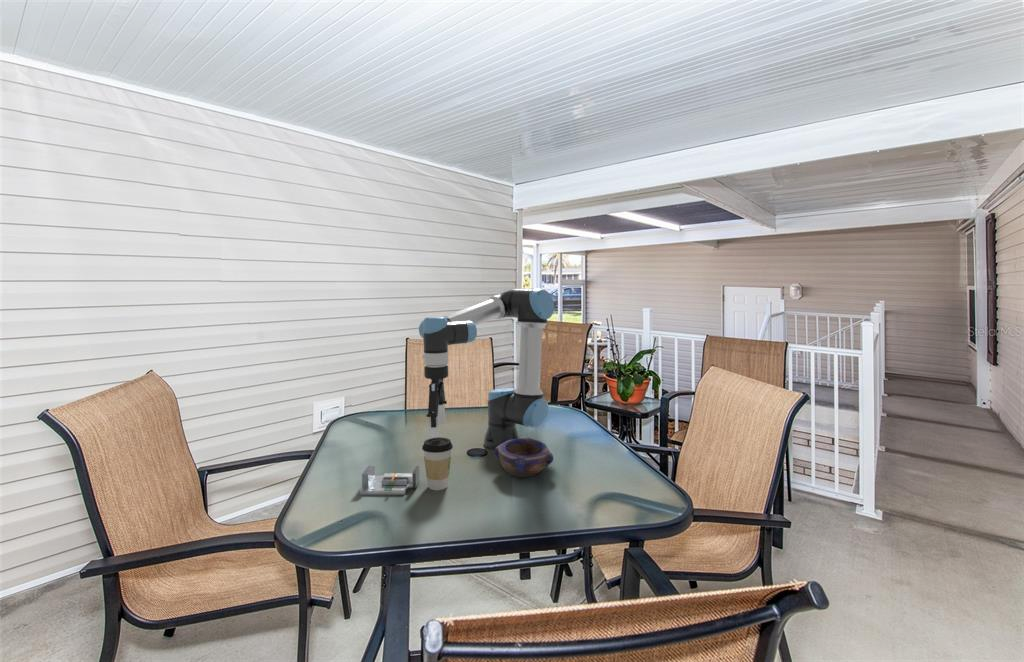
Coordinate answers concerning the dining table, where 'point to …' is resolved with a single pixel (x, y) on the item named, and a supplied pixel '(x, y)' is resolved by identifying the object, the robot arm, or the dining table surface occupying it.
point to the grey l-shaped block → (381, 484)
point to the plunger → (405, 476)
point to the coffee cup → (437, 462)
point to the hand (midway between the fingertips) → (437, 430)
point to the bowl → (523, 456)
